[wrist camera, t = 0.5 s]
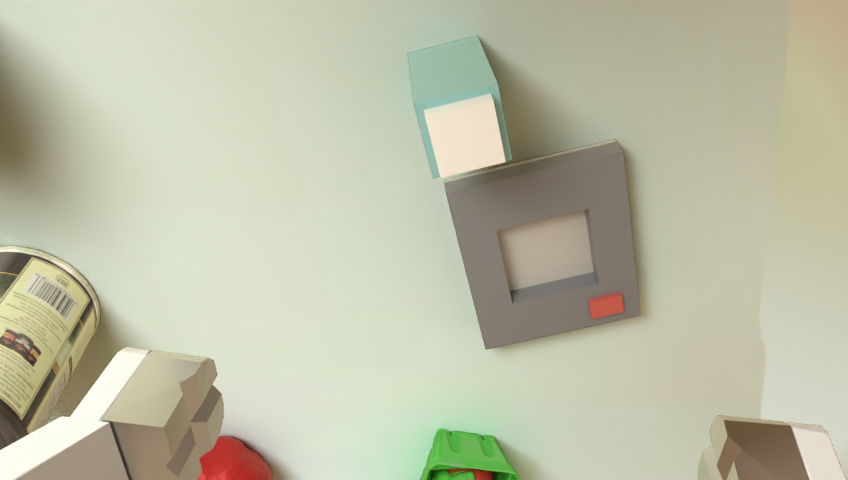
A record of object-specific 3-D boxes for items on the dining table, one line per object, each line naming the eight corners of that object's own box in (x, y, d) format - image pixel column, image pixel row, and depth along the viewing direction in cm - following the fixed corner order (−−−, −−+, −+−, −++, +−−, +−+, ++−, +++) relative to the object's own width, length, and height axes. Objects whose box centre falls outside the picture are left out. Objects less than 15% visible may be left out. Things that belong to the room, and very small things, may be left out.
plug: (407, 53, 46) (414, 111, 37) (477, 35, 45) (500, 89, 37) (424, 118, 48) (434, 187, 40) (490, 101, 48) (515, 167, 39)
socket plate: (443, 180, 50) (446, 196, 48) (614, 138, 50) (625, 153, 48) (482, 333, 58) (486, 352, 56) (632, 299, 57) (642, 318, 55)
